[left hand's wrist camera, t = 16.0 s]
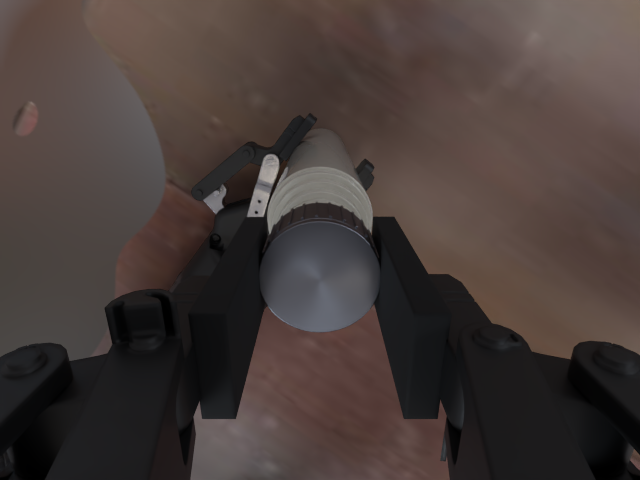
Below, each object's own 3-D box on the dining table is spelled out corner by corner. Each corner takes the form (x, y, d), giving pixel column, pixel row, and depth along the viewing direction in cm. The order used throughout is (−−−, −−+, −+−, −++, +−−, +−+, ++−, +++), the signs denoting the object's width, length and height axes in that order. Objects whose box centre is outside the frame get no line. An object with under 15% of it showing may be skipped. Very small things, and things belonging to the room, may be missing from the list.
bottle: (310, 190, 38) (293, 357, 14) (284, 145, 36) (215, 245, 12) (355, 165, 37) (419, 297, 13) (330, 118, 35) (351, 170, 12)
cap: (395, 232, 14) (407, 257, 12) (339, 317, 15) (342, 352, 13) (297, 180, 13) (292, 196, 11) (247, 272, 15) (235, 301, 13)
